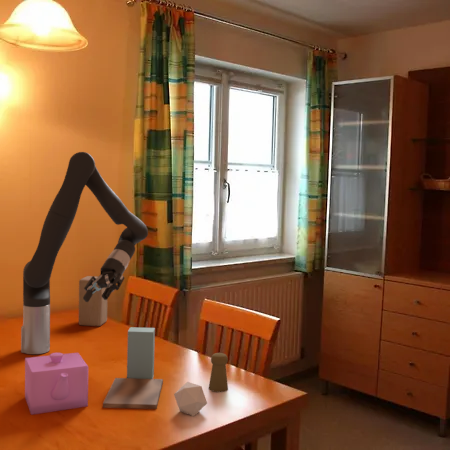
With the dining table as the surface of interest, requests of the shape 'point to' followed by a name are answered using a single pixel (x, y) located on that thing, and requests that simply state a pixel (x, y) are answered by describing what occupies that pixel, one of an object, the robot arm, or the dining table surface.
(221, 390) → the cork
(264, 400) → the dining table surface
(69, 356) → the teapot
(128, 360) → the pillar
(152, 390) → the board
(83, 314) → the block
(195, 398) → the die
